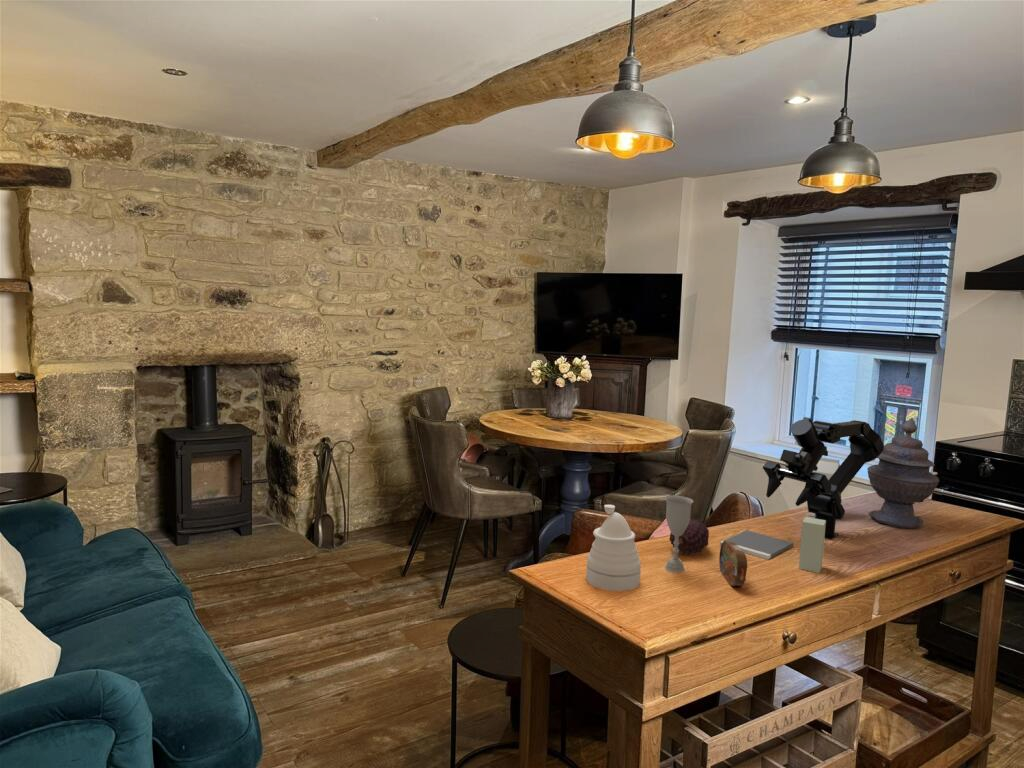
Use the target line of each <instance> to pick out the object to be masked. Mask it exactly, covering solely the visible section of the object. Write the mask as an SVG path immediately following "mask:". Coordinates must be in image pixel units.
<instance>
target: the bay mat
mask: <svg viewBox="0 0 1024 768" xmlns="http://www.w3.org/2000/svg"><path fill="white" fill-rule="evenodd" d="M724 541H727V542H734V543H736V544H737V545H738V547H739V548H740V549H741V550H742V551H743V552H744V553H745V554H748V555H751V556H754V557H758V558H760V559H764V560H769V559H772V558H774V557H776V556H777V554H778V555H779V554H781V553H783V552H785V551H787V550H788V548H789V549H790V547H791V548H792V547H794V542H793V541H789V540H784V539H782V538H777V537H773V536H770V535H766V534H762V533H758V532H755V531H752V530H748V529H747V530H744V531H742V532H739V533H737V534H735V535H733V536H730V537H728V538H726V539H724V540H721V541H720V542H719V546H720V547H721V545H722V543H723V542H724Z"/></svg>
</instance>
